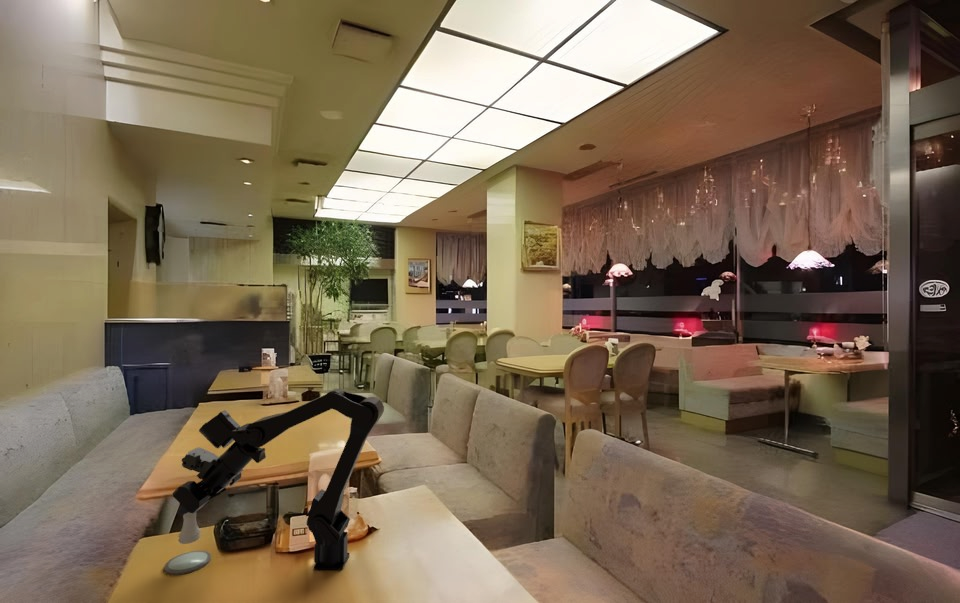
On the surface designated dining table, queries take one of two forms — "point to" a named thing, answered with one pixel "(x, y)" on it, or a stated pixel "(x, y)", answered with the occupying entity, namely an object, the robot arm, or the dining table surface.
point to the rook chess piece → (189, 529)
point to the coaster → (187, 562)
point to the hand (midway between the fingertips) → (184, 510)
